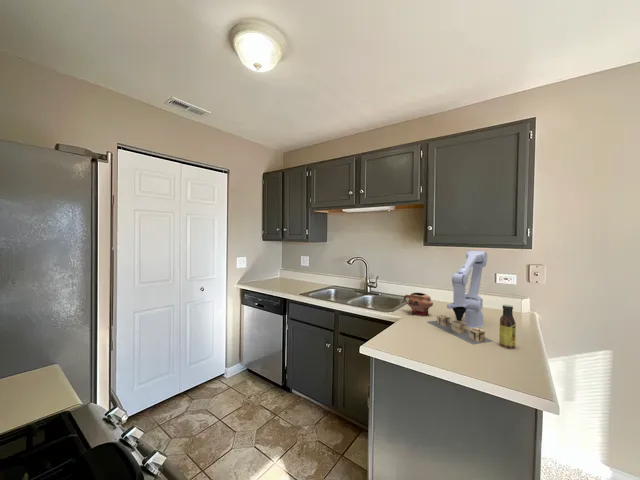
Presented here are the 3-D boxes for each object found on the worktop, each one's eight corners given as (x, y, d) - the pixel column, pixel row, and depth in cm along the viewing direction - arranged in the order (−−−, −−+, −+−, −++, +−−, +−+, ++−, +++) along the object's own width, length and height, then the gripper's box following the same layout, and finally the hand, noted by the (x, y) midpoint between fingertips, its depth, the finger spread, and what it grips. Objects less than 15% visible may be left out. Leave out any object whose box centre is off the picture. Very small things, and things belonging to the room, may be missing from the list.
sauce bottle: (515, 351, 122) (516, 308, 122) (499, 348, 126) (500, 306, 125) (514, 346, 128) (515, 305, 127) (499, 343, 131) (499, 303, 131)
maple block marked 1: (443, 322, 159) (443, 314, 159) (450, 325, 155) (450, 316, 154) (436, 323, 158) (436, 314, 158) (442, 326, 153) (443, 317, 153)
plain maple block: (458, 329, 148) (459, 320, 148) (466, 332, 144) (466, 323, 143) (451, 330, 147) (451, 321, 147) (458, 333, 142) (458, 324, 142)
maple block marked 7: (476, 337, 137) (476, 327, 137) (485, 341, 133) (485, 330, 132) (468, 338, 136) (468, 328, 136) (477, 342, 131) (477, 332, 131)
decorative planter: (399, 313, 180) (399, 292, 179) (406, 309, 189) (406, 289, 189) (430, 319, 167) (430, 297, 167) (435, 314, 177) (436, 293, 176)
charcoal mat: (443, 320, 165) (443, 319, 165) (494, 342, 132) (494, 341, 132) (426, 322, 161) (426, 321, 161) (473, 345, 129) (473, 344, 129)
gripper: (454, 298, 139) (453, 324, 139) (476, 296, 143) (475, 321, 143) (444, 295, 146) (443, 320, 146) (465, 293, 150) (465, 317, 150)
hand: (459, 320), depth 145 cm, fingers closed
